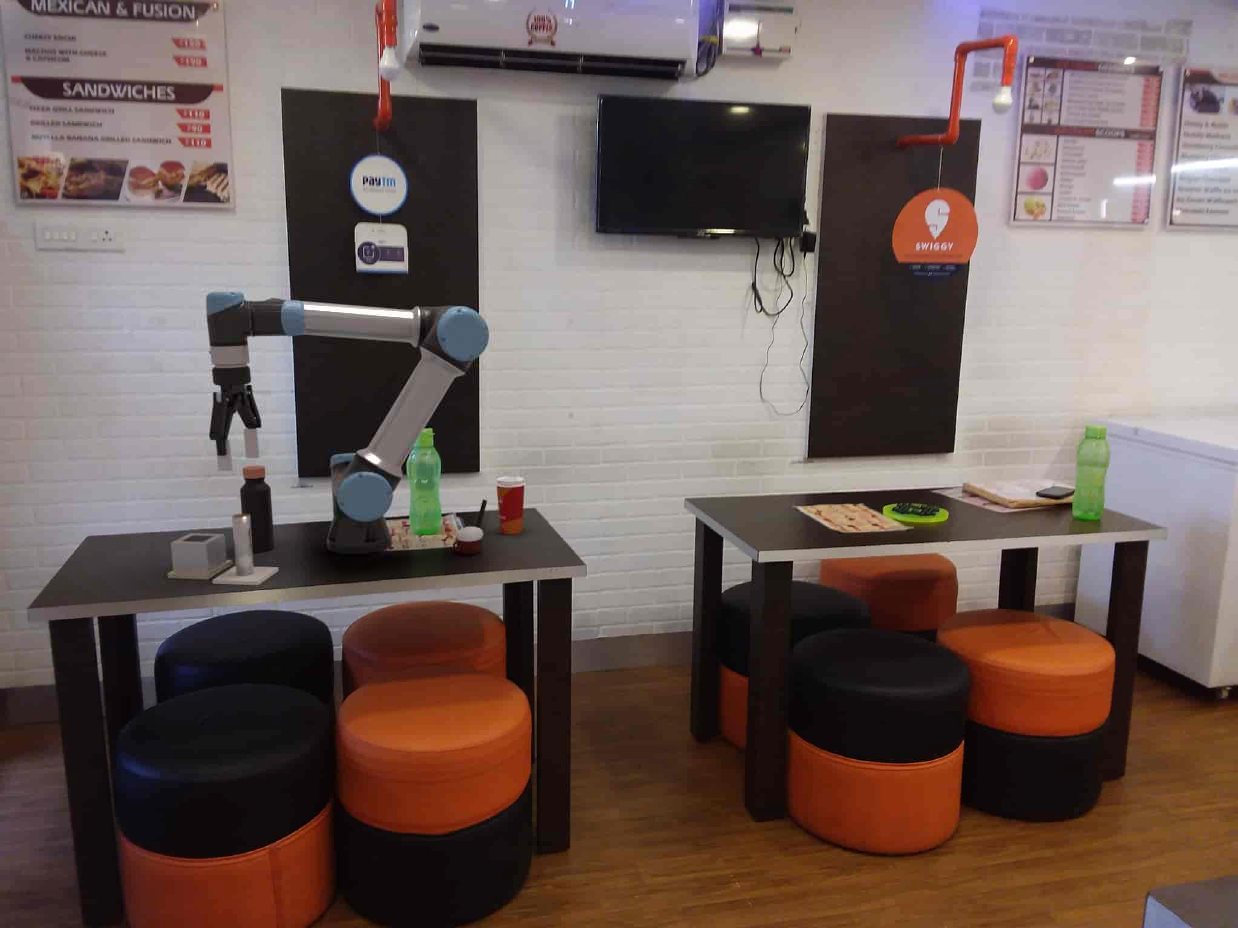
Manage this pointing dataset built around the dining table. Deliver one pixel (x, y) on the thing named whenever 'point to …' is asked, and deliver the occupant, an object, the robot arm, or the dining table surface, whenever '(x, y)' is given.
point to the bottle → (258, 508)
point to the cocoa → (471, 535)
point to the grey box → (198, 556)
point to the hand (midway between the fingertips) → (239, 464)
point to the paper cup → (510, 504)
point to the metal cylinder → (243, 544)
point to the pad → (253, 579)
